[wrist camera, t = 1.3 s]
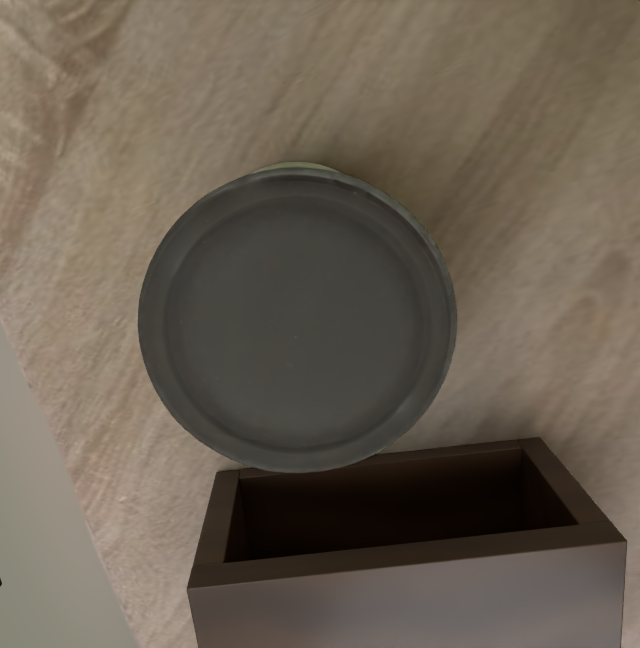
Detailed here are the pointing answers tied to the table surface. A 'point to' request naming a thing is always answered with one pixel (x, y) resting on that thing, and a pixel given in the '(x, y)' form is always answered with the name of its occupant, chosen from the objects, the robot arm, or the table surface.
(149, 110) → the table surface
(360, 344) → the coffee can
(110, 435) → the table surface
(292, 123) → the table surface
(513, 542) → the wooden keepsake box
